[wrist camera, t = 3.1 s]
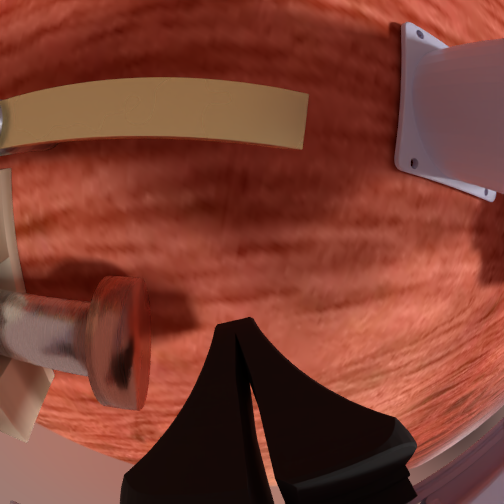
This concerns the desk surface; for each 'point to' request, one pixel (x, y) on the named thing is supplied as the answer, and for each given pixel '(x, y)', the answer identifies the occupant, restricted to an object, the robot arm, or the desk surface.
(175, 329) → the desk surface
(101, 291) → the pin
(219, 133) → the bar
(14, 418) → the hitch block
